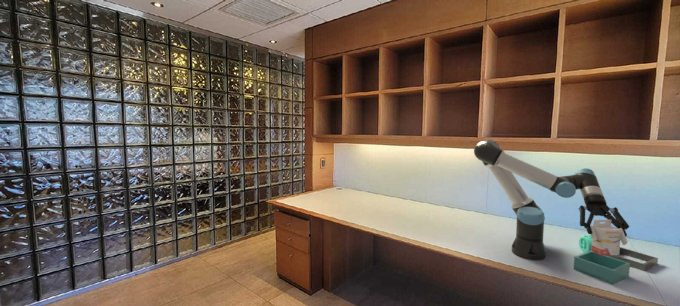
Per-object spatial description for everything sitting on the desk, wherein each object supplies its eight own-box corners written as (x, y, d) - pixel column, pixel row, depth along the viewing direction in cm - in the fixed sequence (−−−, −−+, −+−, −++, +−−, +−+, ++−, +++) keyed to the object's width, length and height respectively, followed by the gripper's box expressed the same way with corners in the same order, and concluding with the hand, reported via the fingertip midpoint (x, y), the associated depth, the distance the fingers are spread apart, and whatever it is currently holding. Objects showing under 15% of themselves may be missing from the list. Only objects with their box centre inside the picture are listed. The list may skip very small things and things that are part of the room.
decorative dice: (606, 256, 140) (607, 241, 139) (588, 255, 141) (589, 240, 141) (595, 249, 148) (596, 235, 147) (578, 248, 149) (579, 234, 148)
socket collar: (604, 258, 138) (605, 252, 138) (618, 252, 144) (618, 246, 144) (644, 271, 126) (644, 264, 125) (657, 264, 131) (658, 258, 131)
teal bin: (573, 269, 128) (574, 256, 128) (589, 262, 134) (590, 250, 134) (613, 284, 116) (614, 270, 115) (628, 276, 122) (629, 263, 121)
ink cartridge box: (601, 256, 121) (603, 223, 119) (590, 251, 126) (592, 219, 124) (620, 255, 121) (622, 222, 120) (608, 250, 126) (610, 218, 125)
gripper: (619, 203, 132) (638, 248, 119) (563, 200, 140) (575, 242, 127) (627, 194, 127) (648, 241, 113) (567, 192, 134) (581, 235, 121)
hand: (610, 242), depth 120 cm, fingers closed on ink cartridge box, 9 cm apart
